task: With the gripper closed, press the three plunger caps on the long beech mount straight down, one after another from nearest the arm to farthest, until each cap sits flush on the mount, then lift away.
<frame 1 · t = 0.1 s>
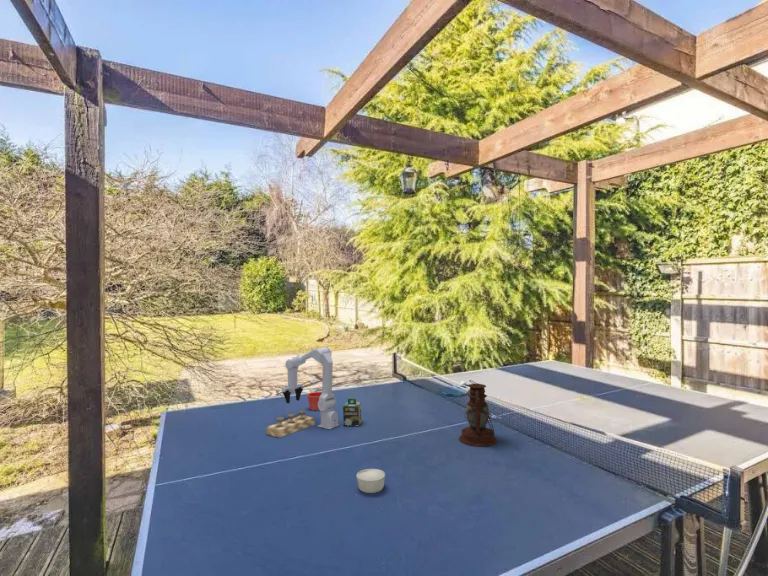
hand: (292, 401, 257), 10 cm above the table, tool pointing down, fingers open, 7 cm apart
flower pot: (316, 409, 276), on the table
lantern: (478, 440, 215), on the table
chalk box: (352, 424, 244), on the table
mount: (291, 429, 236), on the table
ramekin: (371, 488, 165), on the table
plunger 2: (291, 418, 236), point 6 cm above the table, slide at 2.5 cm
plunger 3: (280, 422, 230), point 6 cm above the table, slide at 2.5 cm
plunger 1: (301, 415, 243), point 6 cm above the table, slide at 2.5 cm
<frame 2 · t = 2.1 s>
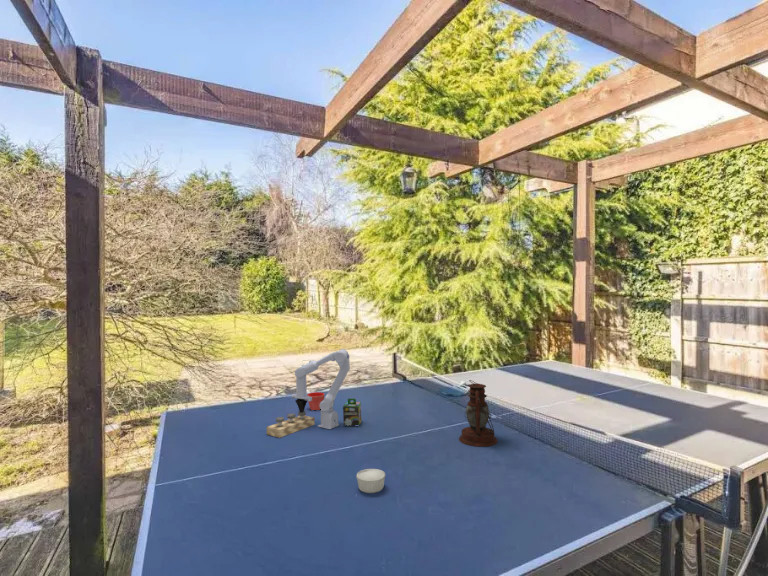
hand: (301, 412, 243), 8 cm above the table, tool pointing down, fingers closed, pressing on plunger 1
plunger 1: (301, 416, 243), point 5 cm above the table, slide at 1.9 cm, touching gripper
everything else where it was.
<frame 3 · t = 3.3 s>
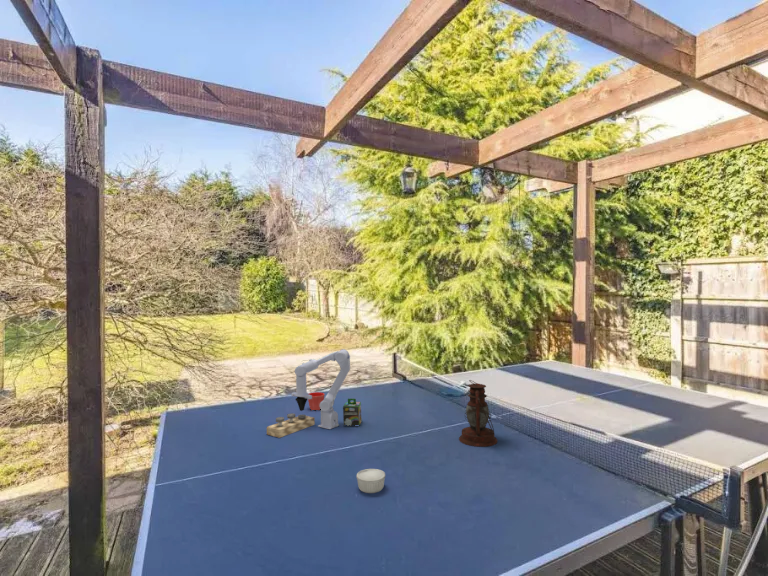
hand: (301, 410, 243), 9 cm above the table, tool pointing down, fingers closed
plunger 1: (301, 419, 243), point 3 cm above the table, slide at -0.1 cm
everything else where it was.
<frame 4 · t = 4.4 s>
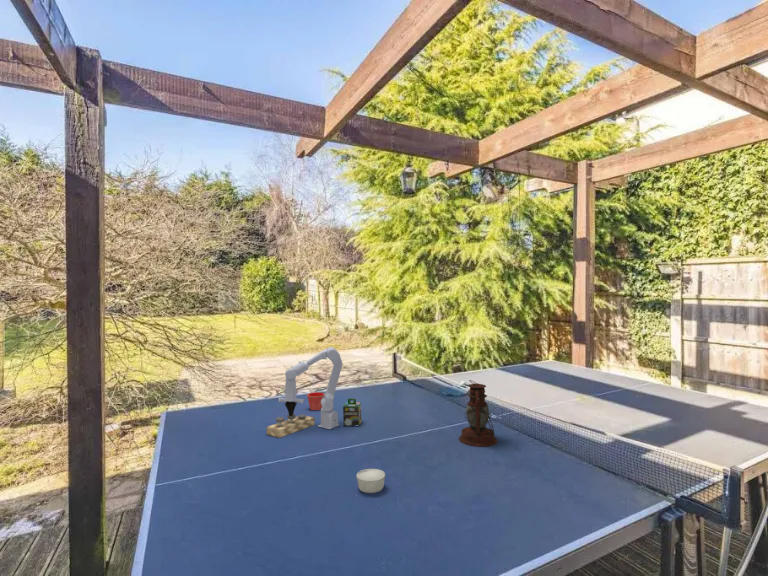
hand: (291, 415, 236), 8 cm above the table, tool pointing down, fingers closed, pressing on plunger 2
plunger 2: (291, 419, 236), point 5 cm above the table, slide at 2.1 cm, touching gripper
everything else where it was.
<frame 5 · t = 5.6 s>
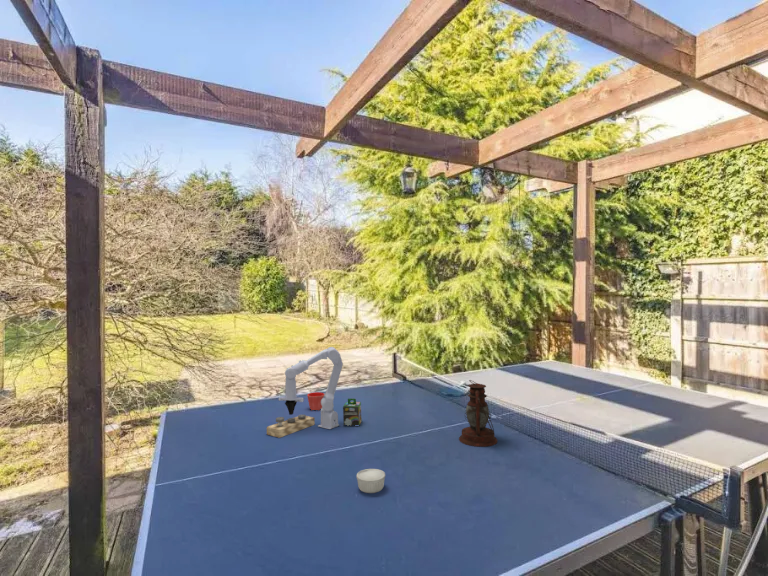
hand: (291, 414, 236), 8 cm above the table, tool pointing down, fingers closed
plunger 2: (291, 423, 236), point 3 cm above the table, slide at -0.1 cm
everything else where it was.
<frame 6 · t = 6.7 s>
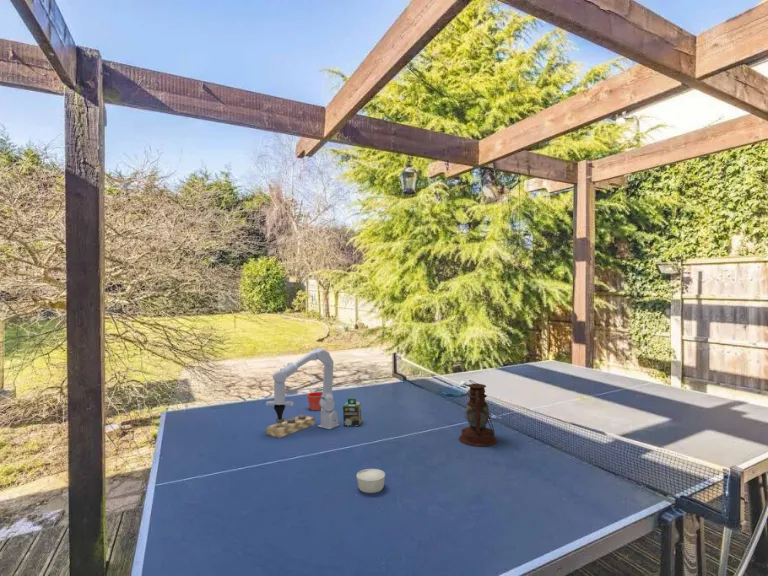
hand: (280, 418, 230), 8 cm above the table, tool pointing down, fingers closed, pressing on plunger 3
plunger 3: (280, 423, 230), point 5 cm above the table, slide at 2.2 cm, touching gripper
everything else where it was.
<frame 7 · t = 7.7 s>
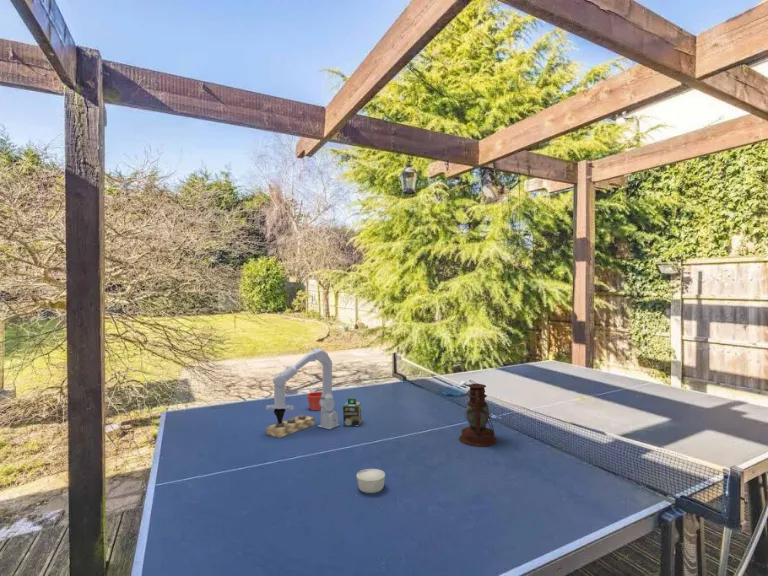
hand: (280, 422, 230), 6 cm above the table, tool pointing down, fingers closed
plunger 3: (280, 427, 230), point 3 cm above the table, slide at -0.1 cm
everything else where it was.
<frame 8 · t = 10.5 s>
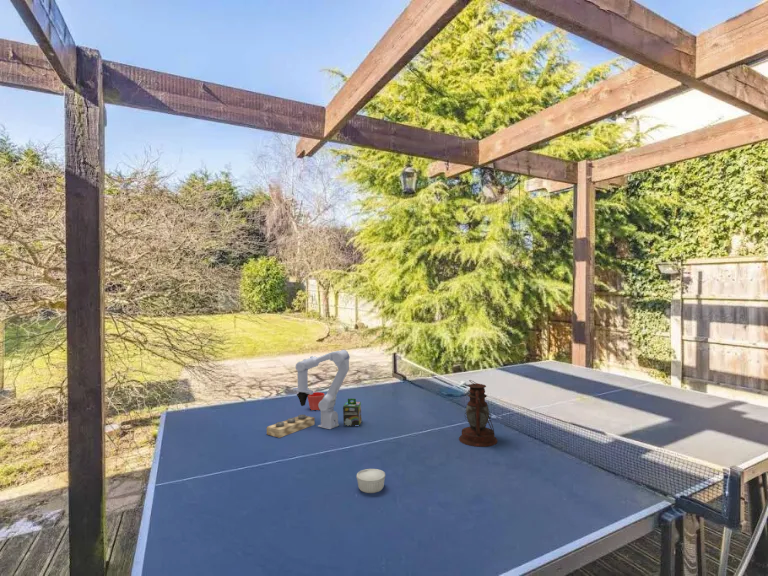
hand: (303, 405, 246), 10 cm above the table, tool pointing down, fingers closed
nothing on the table moved.
at the end: plunger 1 slide at -0.1 cm; plunger 2 slide at -0.1 cm; plunger 3 slide at -0.1 cm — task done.
